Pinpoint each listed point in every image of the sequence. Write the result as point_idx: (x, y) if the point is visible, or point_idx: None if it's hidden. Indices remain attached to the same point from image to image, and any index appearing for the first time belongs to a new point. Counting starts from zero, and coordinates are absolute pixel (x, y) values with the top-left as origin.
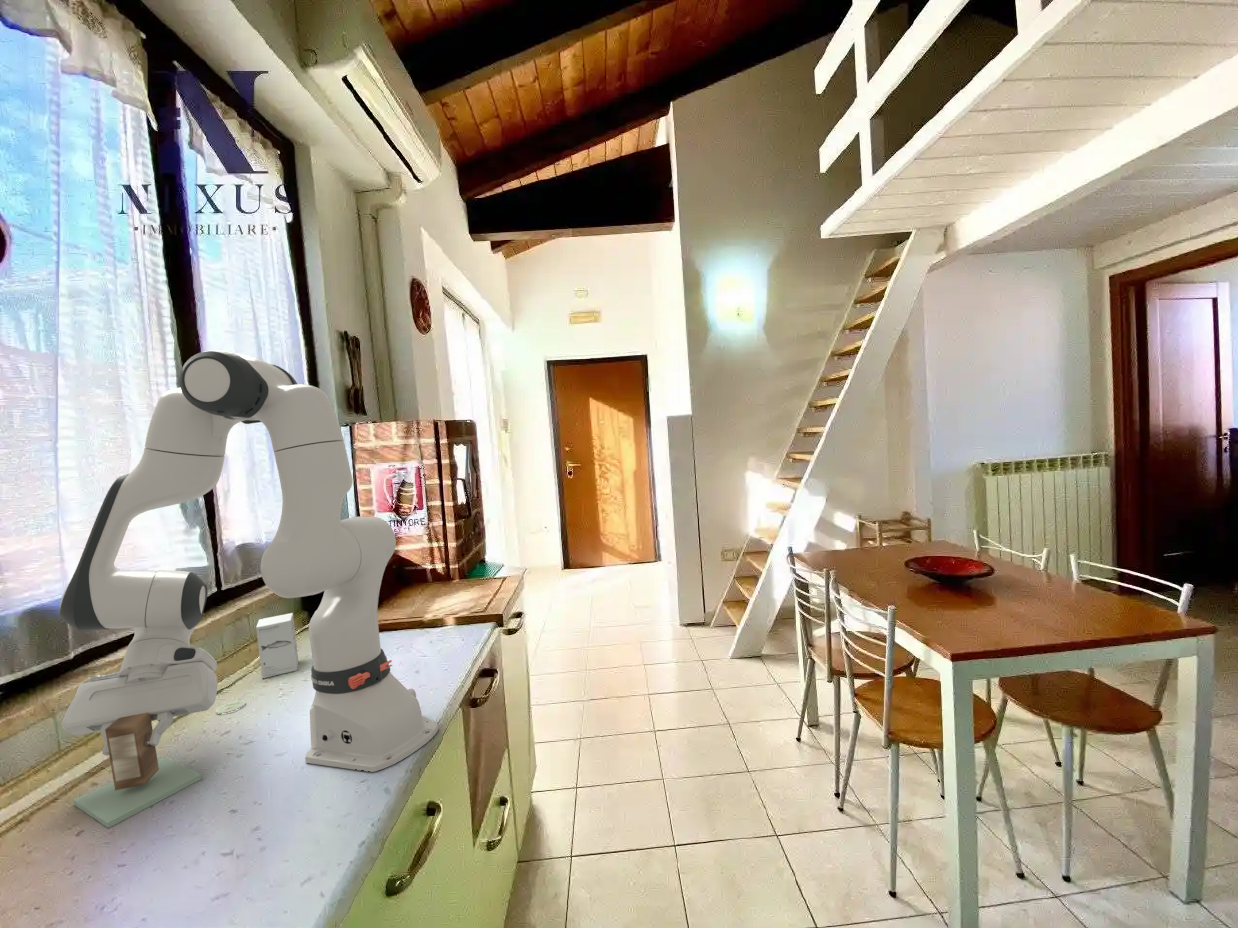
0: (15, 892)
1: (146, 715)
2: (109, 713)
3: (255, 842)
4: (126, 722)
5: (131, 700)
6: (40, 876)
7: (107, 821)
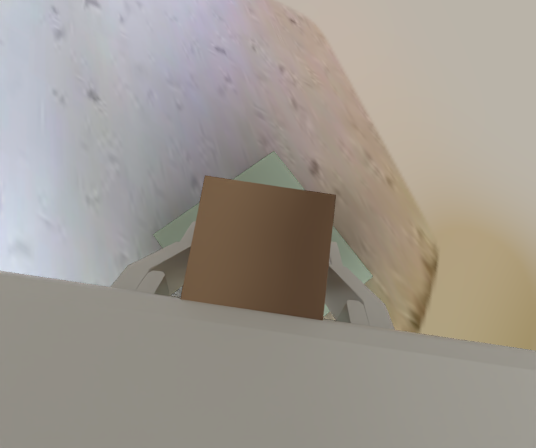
0: (336, 65)
1: (188, 276)
2: (391, 364)
3: (59, 5)
4: (257, 220)
5: (281, 438)
6: (320, 83)
7: (275, 156)
